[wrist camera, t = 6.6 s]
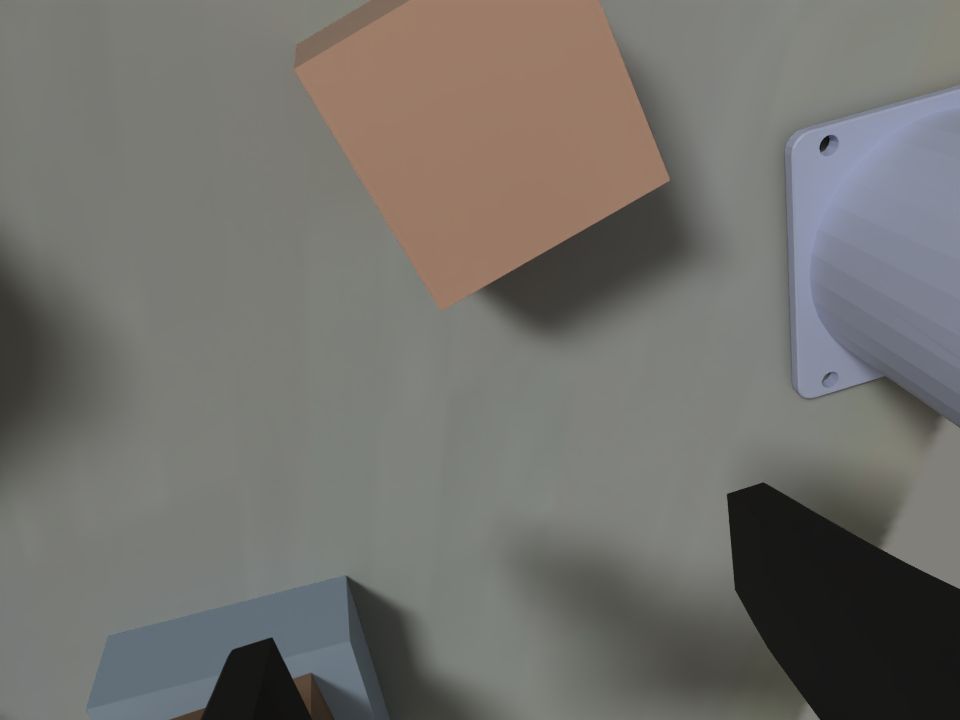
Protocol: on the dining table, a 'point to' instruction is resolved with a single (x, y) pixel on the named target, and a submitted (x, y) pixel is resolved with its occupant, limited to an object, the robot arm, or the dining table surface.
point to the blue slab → (214, 633)
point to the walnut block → (308, 692)
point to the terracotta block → (482, 127)
